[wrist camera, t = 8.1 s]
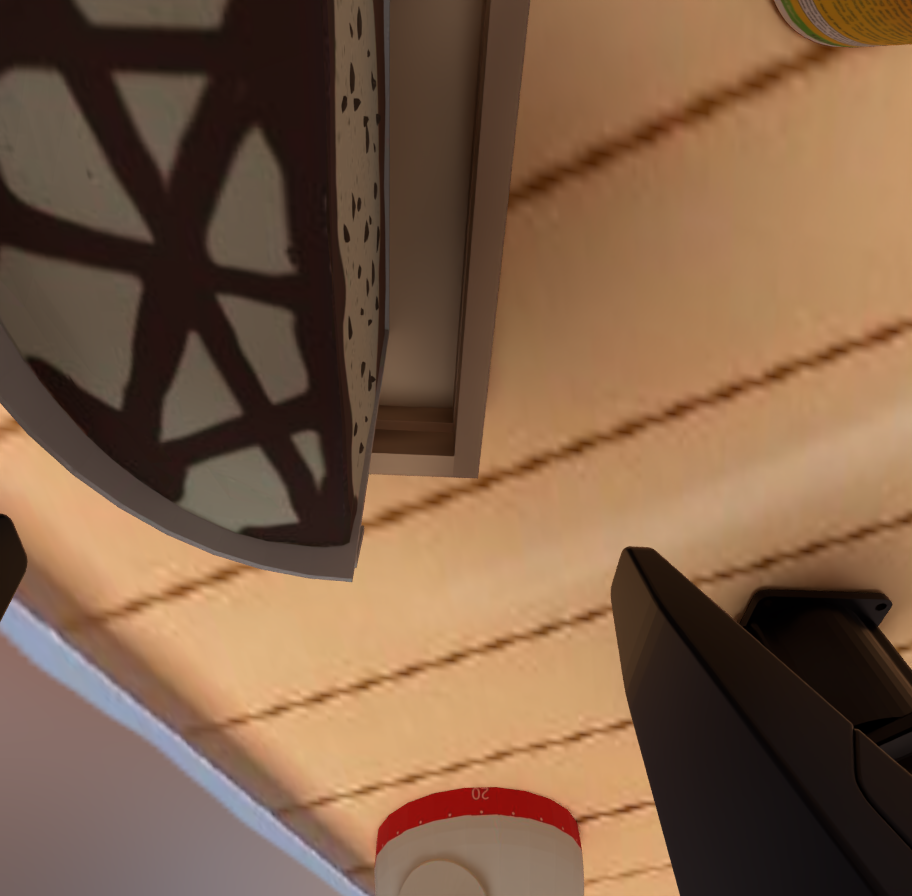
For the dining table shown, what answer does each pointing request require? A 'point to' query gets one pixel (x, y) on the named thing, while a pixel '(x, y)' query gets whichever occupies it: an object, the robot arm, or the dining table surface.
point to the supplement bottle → (850, 21)
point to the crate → (446, 226)
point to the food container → (201, 261)
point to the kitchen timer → (479, 846)
